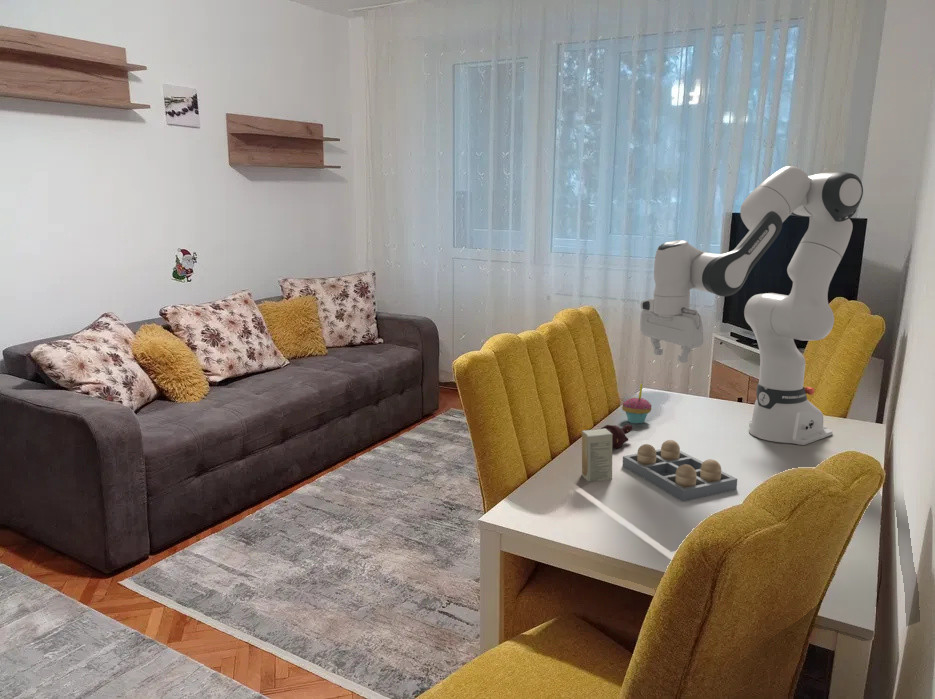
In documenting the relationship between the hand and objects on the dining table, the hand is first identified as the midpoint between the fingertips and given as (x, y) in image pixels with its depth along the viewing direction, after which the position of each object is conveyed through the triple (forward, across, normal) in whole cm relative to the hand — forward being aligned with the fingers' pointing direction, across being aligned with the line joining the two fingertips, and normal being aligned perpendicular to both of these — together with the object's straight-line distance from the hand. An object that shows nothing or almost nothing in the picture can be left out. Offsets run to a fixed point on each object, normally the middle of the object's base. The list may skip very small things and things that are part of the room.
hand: (670, 358), depth 174 cm
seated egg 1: (+23, -11, +16) cm, 30 cm away
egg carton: (+24, -18, +13) cm, 33 cm away
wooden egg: (+23, -12, +9) cm, 28 cm away
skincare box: (+24, -10, +30) cm, 39 cm away
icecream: (+24, +5, +14) cm, 29 cm away
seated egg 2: (+23, -25, +17) cm, 38 cm away
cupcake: (+25, +21, -6) cm, 33 cm away
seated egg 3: (+23, -26, +10) cm, 36 cm away
